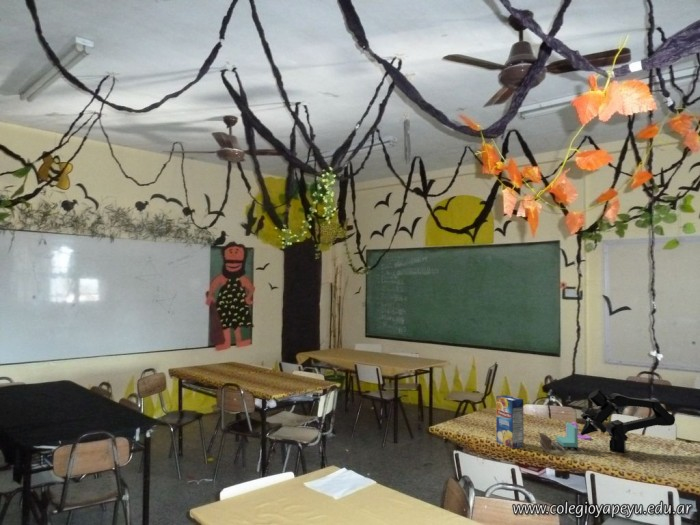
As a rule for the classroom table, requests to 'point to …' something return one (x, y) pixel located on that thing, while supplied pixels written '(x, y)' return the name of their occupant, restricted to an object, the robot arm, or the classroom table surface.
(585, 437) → the bracket
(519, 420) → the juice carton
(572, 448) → the roller track
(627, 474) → the classroom table surface
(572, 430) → the teal l-shaped block
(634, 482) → the classroom table surface
